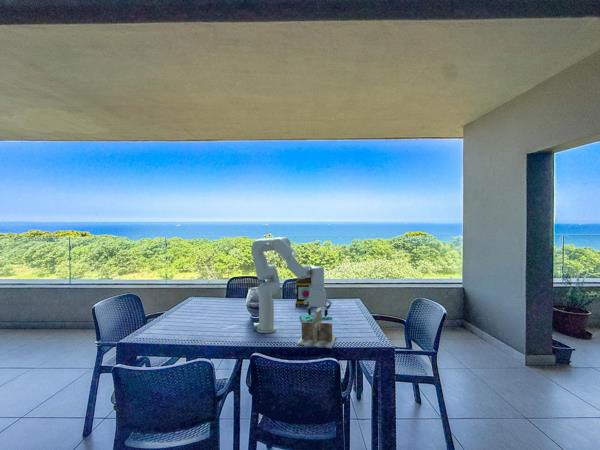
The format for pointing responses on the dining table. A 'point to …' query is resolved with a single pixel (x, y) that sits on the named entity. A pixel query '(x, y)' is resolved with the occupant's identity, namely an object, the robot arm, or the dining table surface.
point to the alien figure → (311, 318)
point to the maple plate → (316, 323)
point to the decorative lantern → (302, 290)
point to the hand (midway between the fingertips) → (317, 315)
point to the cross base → (319, 343)
